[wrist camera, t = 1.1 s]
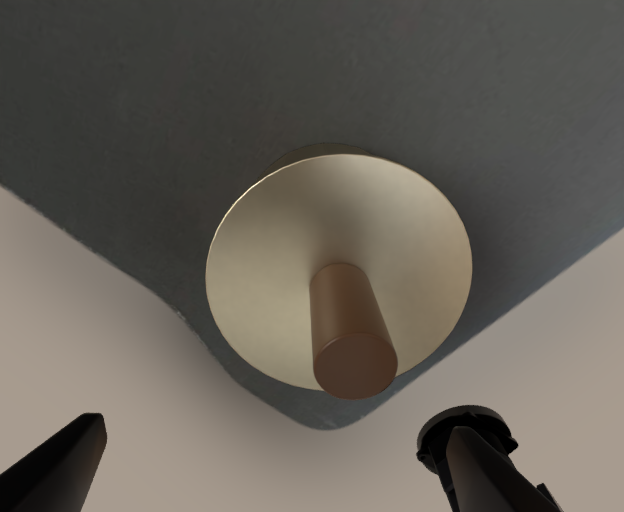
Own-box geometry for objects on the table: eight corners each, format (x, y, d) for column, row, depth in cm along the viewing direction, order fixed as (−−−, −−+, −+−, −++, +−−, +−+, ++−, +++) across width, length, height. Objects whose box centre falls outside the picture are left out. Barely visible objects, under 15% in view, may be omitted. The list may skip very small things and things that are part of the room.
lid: (495, 166, 14) (612, 210, 9) (426, 381, 18) (478, 497, 13) (212, 132, 13) (155, 158, 8) (210, 365, 17) (172, 483, 12)
